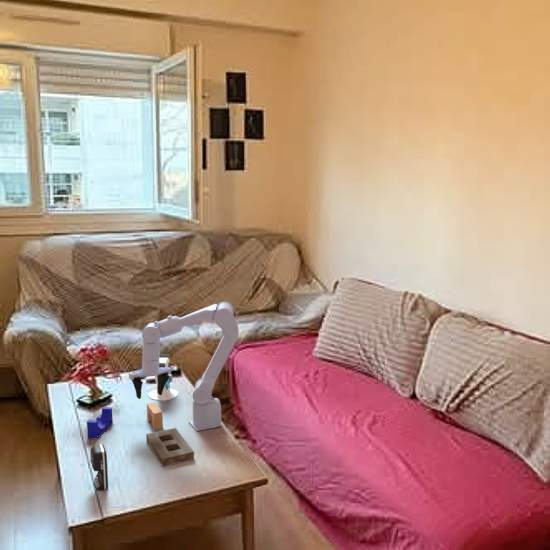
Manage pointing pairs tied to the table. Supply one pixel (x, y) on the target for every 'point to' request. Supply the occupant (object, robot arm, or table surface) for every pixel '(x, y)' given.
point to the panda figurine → (167, 392)
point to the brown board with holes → (169, 446)
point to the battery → (99, 466)
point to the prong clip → (155, 415)
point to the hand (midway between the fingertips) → (149, 395)
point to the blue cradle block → (100, 423)
